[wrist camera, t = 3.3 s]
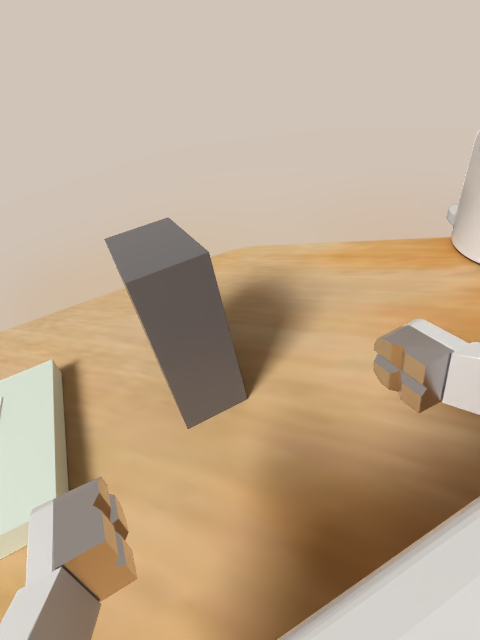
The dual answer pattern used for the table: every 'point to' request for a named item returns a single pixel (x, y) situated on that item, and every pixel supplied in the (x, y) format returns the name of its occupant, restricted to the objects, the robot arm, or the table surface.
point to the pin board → (30, 449)
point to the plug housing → (181, 316)
